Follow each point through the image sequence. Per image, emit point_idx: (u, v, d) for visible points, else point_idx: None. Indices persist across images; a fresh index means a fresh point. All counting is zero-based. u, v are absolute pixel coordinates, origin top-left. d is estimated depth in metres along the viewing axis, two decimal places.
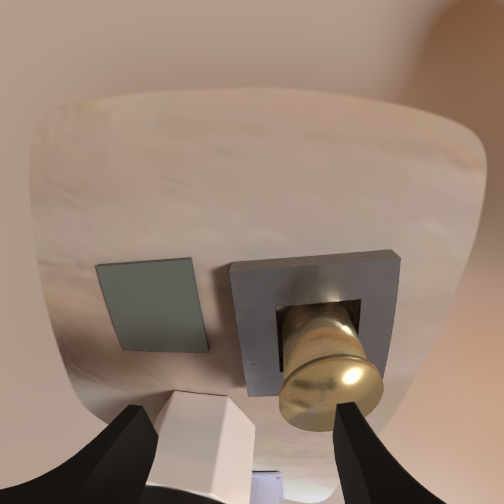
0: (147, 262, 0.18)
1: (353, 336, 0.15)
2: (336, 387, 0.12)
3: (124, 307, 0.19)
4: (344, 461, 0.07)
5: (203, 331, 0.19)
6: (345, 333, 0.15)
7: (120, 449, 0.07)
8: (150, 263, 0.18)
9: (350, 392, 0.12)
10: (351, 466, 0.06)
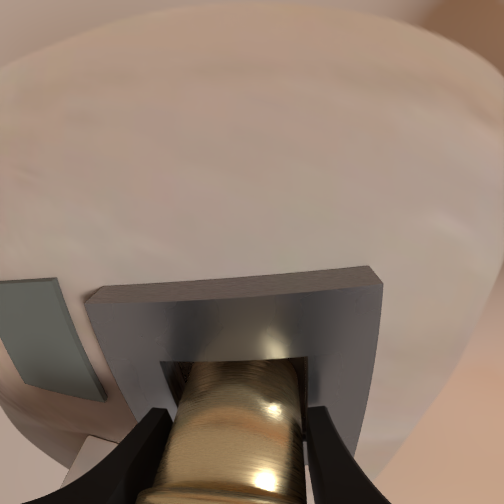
0: (16, 282, 0.11)
1: (278, 432, 0.07)
2: None
3: (10, 335, 0.12)
4: (312, 465, 0.07)
5: (91, 376, 0.12)
6: (260, 429, 0.07)
7: (146, 454, 0.07)
8: (17, 284, 0.11)
9: None
10: (317, 471, 0.07)
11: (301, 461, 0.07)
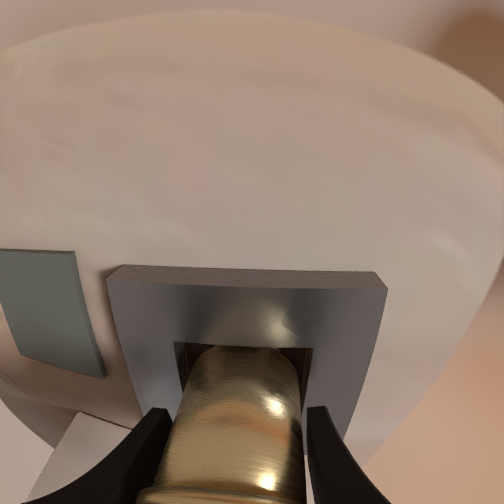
0: (29, 252, 0.11)
1: (278, 432, 0.07)
2: None
3: (13, 305, 0.12)
4: (312, 465, 0.07)
5: (94, 352, 0.13)
6: (260, 428, 0.07)
7: (146, 454, 0.07)
8: (31, 254, 0.11)
9: None
10: (317, 471, 0.07)
11: (301, 460, 0.07)
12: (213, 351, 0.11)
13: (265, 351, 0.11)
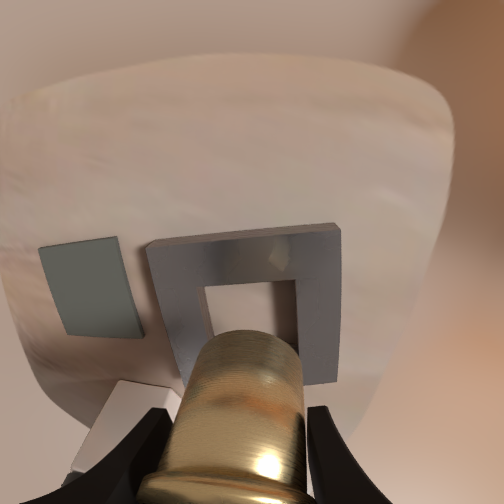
0: (78, 242, 0.16)
1: (280, 419, 0.08)
2: None
3: (63, 290, 0.17)
4: (313, 465, 0.07)
5: (134, 315, 0.18)
6: (263, 416, 0.07)
7: (146, 454, 0.07)
8: (80, 243, 0.16)
9: None
10: (317, 471, 0.07)
11: (303, 449, 0.07)
12: (219, 339, 0.11)
13: (270, 339, 0.11)
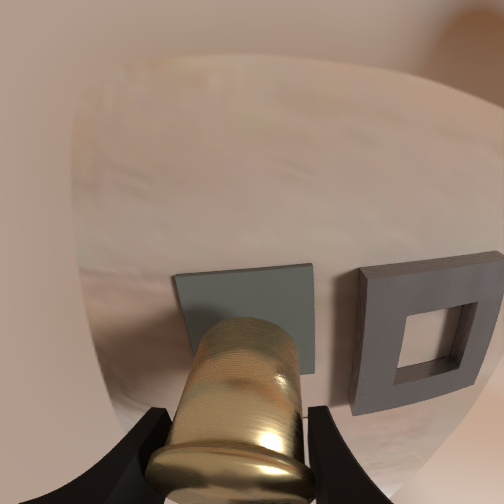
0: (254, 270, 0.15)
1: (276, 395, 0.09)
2: (224, 486, 0.06)
3: None
4: (314, 465, 0.07)
5: (313, 350, 0.16)
6: (259, 392, 0.08)
7: (145, 454, 0.07)
8: (259, 271, 0.15)
9: (253, 492, 0.06)
10: (318, 471, 0.07)
11: (299, 424, 0.08)
12: (218, 327, 0.12)
13: (265, 325, 0.12)
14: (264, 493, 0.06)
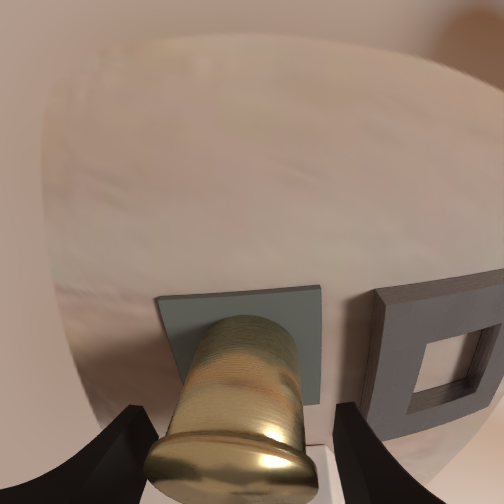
0: (250, 294, 0.12)
1: (276, 387, 0.09)
2: (224, 478, 0.06)
3: None
4: (344, 461, 0.07)
5: (319, 380, 0.13)
6: (260, 383, 0.08)
7: (120, 449, 0.07)
8: (256, 295, 0.12)
9: (254, 485, 0.06)
10: (351, 466, 0.06)
11: (300, 417, 0.08)
12: (218, 325, 0.12)
13: (265, 322, 0.12)
14: (265, 486, 0.06)
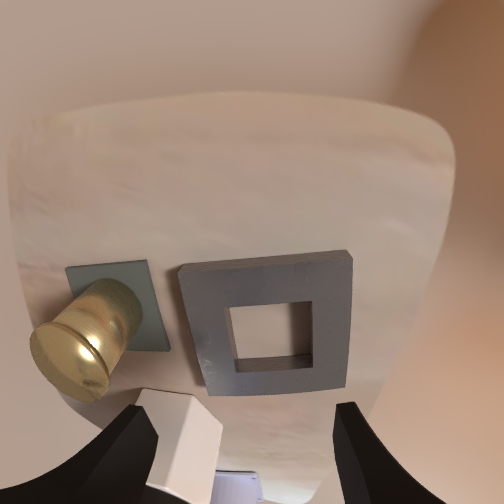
0: (108, 264, 0.18)
1: (96, 312, 0.15)
2: (58, 352, 0.12)
3: None
4: (344, 461, 0.07)
5: (162, 330, 0.20)
6: (87, 308, 0.15)
7: (120, 449, 0.07)
8: (110, 265, 0.18)
9: (71, 360, 0.12)
10: (351, 466, 0.06)
11: (107, 332, 0.14)
12: None
13: (114, 282, 0.18)
14: (76, 362, 0.12)
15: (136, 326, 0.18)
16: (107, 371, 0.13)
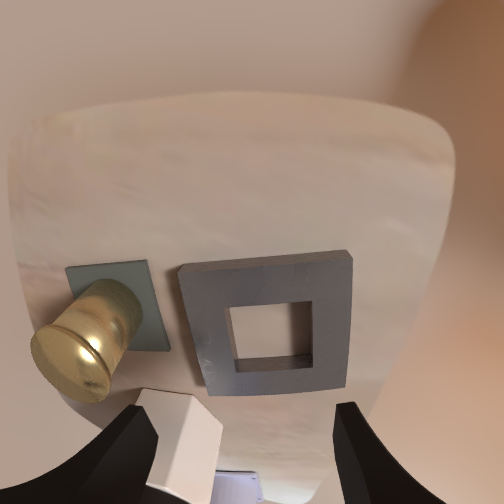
0: (108, 264, 0.18)
1: (95, 313, 0.15)
2: (58, 355, 0.12)
3: None
4: (344, 461, 0.07)
5: (162, 330, 0.20)
6: (86, 310, 0.14)
7: (120, 449, 0.07)
8: (110, 265, 0.18)
9: (72, 362, 0.12)
10: (351, 466, 0.06)
11: (107, 332, 0.14)
12: None
13: (113, 282, 0.18)
14: (77, 364, 0.12)
15: (136, 325, 0.18)
16: (108, 372, 0.13)
